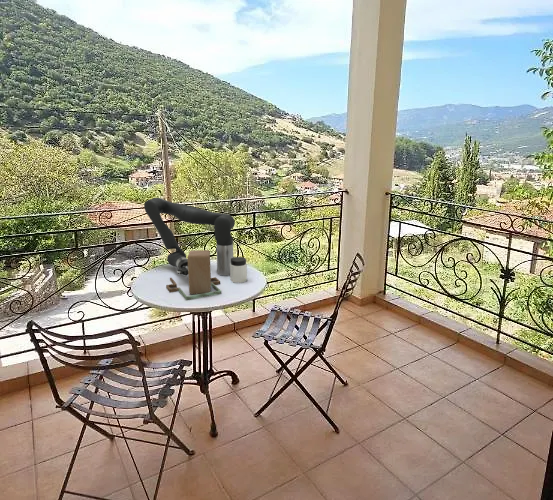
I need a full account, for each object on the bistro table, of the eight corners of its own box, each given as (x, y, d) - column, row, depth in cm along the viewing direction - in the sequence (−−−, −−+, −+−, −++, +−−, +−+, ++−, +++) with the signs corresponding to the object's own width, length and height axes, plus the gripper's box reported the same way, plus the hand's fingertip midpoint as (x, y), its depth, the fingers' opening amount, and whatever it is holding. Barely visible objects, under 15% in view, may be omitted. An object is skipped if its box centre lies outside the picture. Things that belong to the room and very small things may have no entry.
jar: (248, 281, 208) (248, 260, 204) (234, 284, 204) (234, 262, 201) (242, 276, 215) (242, 255, 212) (228, 278, 212) (228, 257, 209)
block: (209, 294, 190) (208, 255, 185) (189, 295, 189) (187, 255, 184) (211, 287, 200) (210, 249, 194) (191, 287, 199) (189, 249, 193)
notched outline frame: (209, 274, 218) (209, 271, 218) (229, 292, 193) (229, 289, 193) (161, 281, 206) (161, 279, 205) (176, 302, 181) (176, 298, 180)
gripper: (172, 260, 208) (180, 269, 193) (196, 257, 214) (206, 266, 199) (172, 273, 210) (181, 284, 195) (196, 270, 216) (206, 280, 201)
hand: (194, 275), depth 197 cm, fingers closed
